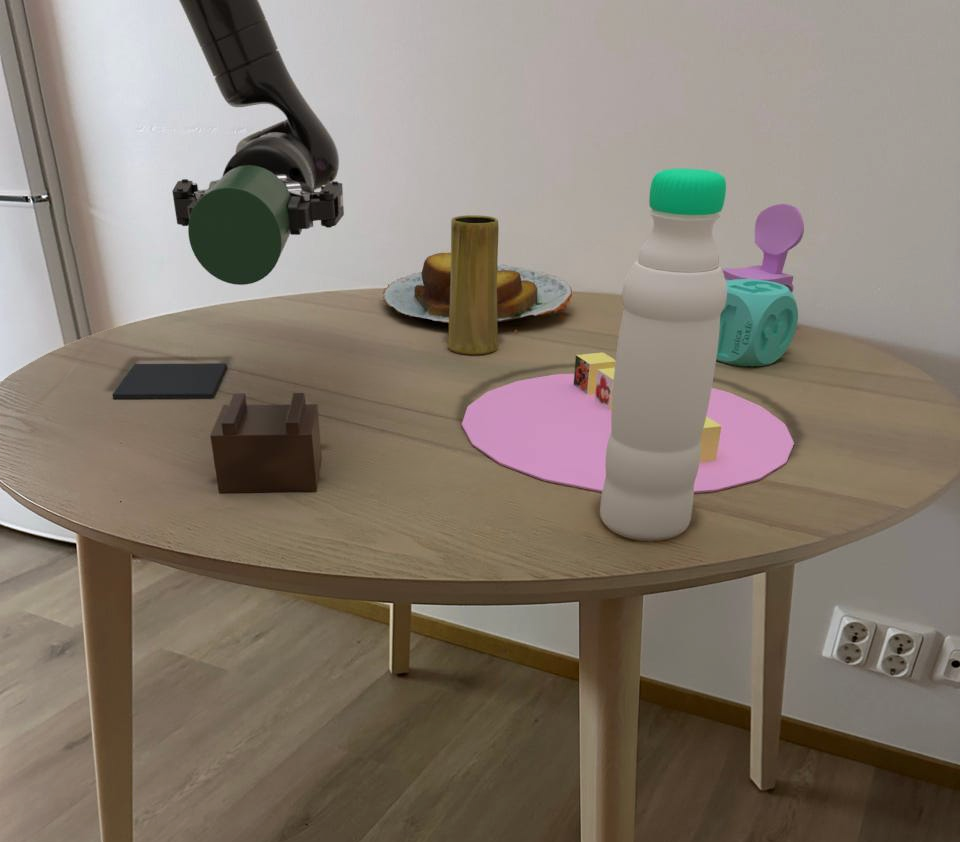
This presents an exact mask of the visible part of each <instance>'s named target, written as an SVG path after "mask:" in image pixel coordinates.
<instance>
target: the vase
mask: <svg viewBox="0 0 960 842" xmlns="http://www.w3.org/2000/svg"><path fill="white" fill-rule="evenodd" d="M450 228H451V229H450V233H451V234H450V253H451V282H450V311H449V323H448V338H447V342H446V346H447V348H448V350H449V351H451V352H453V353H456V354H461V355H467V356H468V355H469V356H480V355H488V354H492V353H494V352H495V351H497V350H498V349H499V338H498V337H499V336H498V322H497V265H498V257H499V256H498V255H499V254H498V253H499V229H500V228H499V220H498V219H497V218H496V217H493V216H488V215H478V214H477V215H471V214H469V215H458V216H455V217H452V218H451V221H450Z"/></svg>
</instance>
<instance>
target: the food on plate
mask: <svg viewBox="0 0 960 842" xmlns="http://www.w3.org/2000/svg"><path fill="white" fill-rule="evenodd" d="M450 282H451V252H437V253H434V254H432V255H428V256H427V258H425V259H424V262H423V266H422V270H421V271H420V272H418V273H417V272H415V273H413V274H409V275H406V276H405V277H400V278H399V279H398V278H397V279H396V280H395V281H393V282H391V283H390V284H387V287H386V288H383V292H382V294H383V301H385V302H386V303H387V305H388V306H389V307H391V308H392V307H393V308H394V309H395V310H396V312H397V313H401V314H404V315H406V316H407V315H408V316H409V317H411V318H412V317H416V318H421V319H428V320H432V321H433V322H441V323H446V324H447V323H448V324H449V311H450ZM572 297H573V290H572V287H571V286H570V285H569V284H568V282H566V280H563V279H561V278H560V277H557V276H555V275H552V274H548V273H545V272H543V271H538V270H533V269H529V268H525V267H522V266H519V267H514V266H512V265H506V264H497V323H503V322H509V321H513V320H519V319H523V318H527V317H530V316H532V315H533V316H535V317H537V316H539V315H541V316H542V315H545V314H552V313H553V312H554V314H556V313H557V311H559V310H561V309H563V310H562V311H561V312H560V314H559V316H558V317H559V318H565V317H566V315H564V313H563V312H564V308H566V307H567V305H568V303H570V301H571V299H572ZM513 332H514V333H516V332H518V329H515V330H513Z"/></svg>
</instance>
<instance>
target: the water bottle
mask: <svg viewBox="0 0 960 842" xmlns="http://www.w3.org/2000/svg"><path fill="white" fill-rule="evenodd" d="M726 192H727V180H726V178H725V176H723V175H722V174H721V173H719V172H717V171H713V170H707V169H699V168H682V167H681V168H680V167H679V168H668V169H667V168H666V169H662V170H660V171H658V172H657V173H656V174H654V176H653V178H652V180H651V183H650V188H649V199H648V203H649V208H651V210H650V211H649V214H650V216H651V217H652V219H653V228H652V231H651V233H650V235H649V236H648V238H647V240H646V241H645V242H644V243H643V245H642V246H641V248H640V250H639V253H638V258H637V259H636V260H635V261H634V263H633V264H632V267H630V269H629V271H628V273H627V275H626V278H624V279H625V280H624V281H623V285H622V291H621V301H622V305H623V312H622V316H621V321H620V325H619V326H620V327H619V331H618V338H617V344H616V345H617V346H616V352H615V353H616V355H615V360H616V361H615V370H614V381H613V392H612V408H611V434H610V437H609V440H608V444H607V450H606V461H605V467H606V478H605V481H604V485H603V490H602V492H601V497H600V504H599V505H600V506H599V516H600V519H601V521H602V523H603V524H604V525H605V527H606V528H608V530H610V531H612V532H613V533H615V534H617V535H618V536H621V537H624V538H626V539H630V540H636V541H641V542H659V541H666V540H671V539H673V538H675V537H678V536H679V535H681V534H682V533H684V532H685V531H686V530H687V529H688V527H689V525H690V524H691V523H690V522H691V519H692V514H693V506H694V496H695V495H694V494H695V493H694V482H695V479H696V476H697V473H698V468H699V463H700V455H701V444H700V438H701V435H702V431H703V428H704V424H705V420H706V415H707V410H708V406H709V400H710V395H711V389H712V388H713V383H714V375H715V370H716V363H717V360H716V357H717V349H718V340H719V329H720V314H721V312H722V311H723V309H724V307H725V303H726V299H727V285H726V281H725V277H724V274H723V270H722V269H723V268H722V266H721V264H720V253H719V250H718V247H717V245H716V243H715V240H714V236H713V227H714V224H715V222H716V221H717V220H718V219H720V217H721V215H720V213H721V212H722V210H723V208H724V205H725V199H726V195H727V193H726Z"/></svg>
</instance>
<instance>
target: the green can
mask: <svg viewBox="0 0 960 842" xmlns="http://www.w3.org/2000/svg"><path fill="white" fill-rule="evenodd" d="M222 176H223V175H222ZM218 180H219V181H218V182H217V183H216V184H215V185H214V186H213V187H212V188H211V189H210V190H209V191H208V192H207V193H206V194H205V195H204V196H203V197H202V198H201V199H200V200H199V201H198V202H197V203H196V205H195V206H194V208H193V210H192V212H191V215H190V218H189V224H188V226H187V233H188V234H187V235H188V240H189V244H190V248H191V250H192V253H193V255H194V256H195V258H196V260H197V262H198V263H199V264H200V266H201V267H202V268H203V269H204V270H205V271H206V272H207V273H209V274H210V275H211V276H213V277H214V278H216V279H217V280H219V281H221V282H225V283H226V284H230V285H237V286H245V285H251V284H254V283H257V282H259V281H261V280H263V279H265V278H266V277H267V276H269V274H270V273H272V271H273V270H274V268H275V267H276V265H277V263H278V262H279V259H280V257H281V255H282V253H283V250H284V248H285V246H286V244H287V242H288V239H289V237H290V236H291V233H290V219H289V212H288V204H289V202H290V200H291V198H292V197H291V195H290V193H289V191H288V189H287V187H286V186H285V184H284V183H283V182H282V181H281V180H280V179H279V178H278V177H277V176H276V175H275V174H273V173H272V172H270V171H268V170H266V169H264V168H262V167H258V166H252V165H246V166H240V167H237V168H234V169H232V170H230V171H229V172H227V173H226V174H225V175H224V176H223V177H220V179H218Z"/></svg>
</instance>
